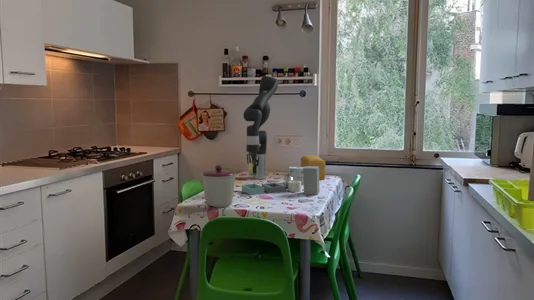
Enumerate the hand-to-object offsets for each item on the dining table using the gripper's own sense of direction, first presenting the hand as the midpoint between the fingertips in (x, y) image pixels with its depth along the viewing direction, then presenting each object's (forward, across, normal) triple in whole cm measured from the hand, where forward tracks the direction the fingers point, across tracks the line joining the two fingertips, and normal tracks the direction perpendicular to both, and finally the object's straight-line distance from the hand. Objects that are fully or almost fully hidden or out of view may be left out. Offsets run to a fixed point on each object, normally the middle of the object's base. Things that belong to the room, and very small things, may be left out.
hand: (252, 172), depth 250 cm
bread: (+12, +30, -58) cm, 67 cm away
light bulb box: (+12, +13, -37) cm, 41 cm away
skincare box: (+12, -17, -30) cm, 36 cm away
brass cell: (+1, 0, 0) cm, 1 cm away
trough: (+12, 0, 0) cm, 12 cm away
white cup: (+12, -6, -25) cm, 28 cm away
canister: (+12, -22, +28) cm, 38 cm away
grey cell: (+12, +2, -25) cm, 28 cm away
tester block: (+12, -1, -13) cm, 18 cm away
